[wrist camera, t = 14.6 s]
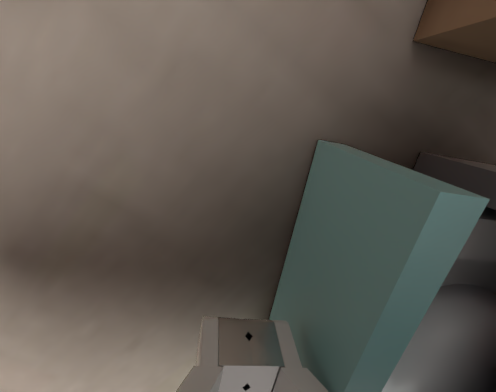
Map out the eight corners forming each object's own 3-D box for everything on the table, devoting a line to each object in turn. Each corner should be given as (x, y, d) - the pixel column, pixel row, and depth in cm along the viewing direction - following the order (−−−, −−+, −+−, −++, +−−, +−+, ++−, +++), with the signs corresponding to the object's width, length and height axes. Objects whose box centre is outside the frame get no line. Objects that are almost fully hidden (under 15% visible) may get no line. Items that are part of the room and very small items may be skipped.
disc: (530, 285, 10) (588, 321, 9) (462, 387, 13) (499, 430, 11) (391, 281, 9) (428, 320, 8) (344, 392, 12) (365, 440, 10)
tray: (318, 139, 9) (440, 191, 4) (578, 184, 11) (869, 256, 6) (245, 405, 14) (259, 567, 10) (429, 402, 17) (519, 533, 12)
